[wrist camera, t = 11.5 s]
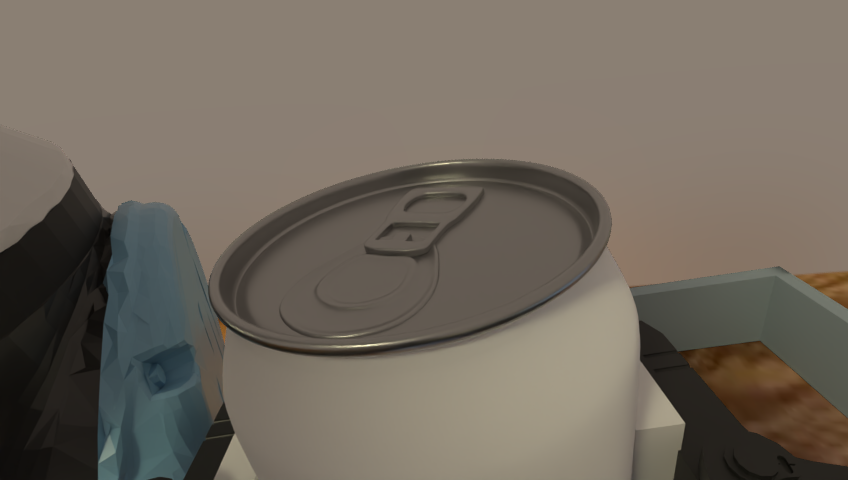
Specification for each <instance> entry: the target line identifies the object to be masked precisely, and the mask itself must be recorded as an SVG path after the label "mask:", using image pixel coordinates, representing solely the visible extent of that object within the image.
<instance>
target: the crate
mask: <svg viewBox="0 0 848 480" xmlns="http://www.w3.org/2000/svg"><path fill="white" fill-rule="evenodd" d="M630 291H631V293H632V296H633V299H634V302H635V305H636V308H637V313H638V320H639V321H643V322H645V323H646V324H648V325H650V326H651V327H653V328H655V329H656V330H658V331H660V332H661V333H663V334H664V336H665V337H666V338H667V339H668V340H669V341H670V343H671V344H672V345H673V346H674V347H675V348H676V350H677V351H685V350H692V349H700V348H707V347H715V346H722V345H730V344H737V343H745V342H753V341H761V342H762V343H763V344H764V345H766V346H767V347H768V348H769V349H770V350H771V351H772V352H773V353H775V354H776V355H777V356H778V357H779V358H780V359H781V360H783V361H784V362H785V363H786V364H787V365H788V366H789V367H790V368H792V369H793V370H794V371H795V372H796V373H797V374H798V375H800V376H801V377H802V378H803V379H804V380H805V381H806V382H807V383H809V384H810V385H811V386H812V387H813V388H814V389H815V390H817V391H818V392H819V393H820V394H821V395H822V396H823V397H824V398H826V399H827V400H828V401H829V402H830V403H831V404H832V405H834V406H835V407H836V408H837V409H838V410H839V411H840V412H841V413H843V414H844V415H845V416H846V417H847V418H848V309H846V308H845V307H843V306H842V305H840V304H838V303H837V302H835V301H834V300H832V299H830V298H829V297H827V296H826V295H824V294H822V293H821V292H819V291H818V290H816V289H815V288H813V287H811V286H810V285H808V284H807V283H805V282H803V281H802V280H800V279H799V278H797V277H795V276H794V275H792V274H791V273H789V272H787V271H786V270H784V269H783V268H781V267H772V268H765V269H758V270H751V271H745V272H738V273H731V274H725V275H717V276H710V277H703V278H697V279H689V280H682V281H676V282H669V283H662V284H655V285H648V286H641V287H634V288H630Z"/></svg>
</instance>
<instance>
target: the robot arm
mask: <svg viewBox="0 0 848 480" xmlns="http://www.w3.org/2000/svg"><path fill="white" fill-rule="evenodd" d="M639 332H640V365H639V385H638V398H637V412H636V425H635V438H634V450H633V462H632V474H631V480H848V467H847V466H840V465H833V464H826V463H820V462H813V461H809V460H804V459H800V458H796V457H794V456H793V455H792V454H790V453H789V452H788V451H786V450H785V449H784V448H783V447H781V446H780V445H779V444H777V443H776V442H774V441H771V440H769V439H767V438H765V437H763V436H761V435H759V434H757V433H753V432H749V431H747V430H746V429H745V428H744V427H743V426H742V425H741V424H740V423H739V421H738V420H737V419H736V418H735V417H734V416H733V415H732V413H731V412H730V411H729V410H728V409H727V408H726V406H725V405H724V404H723V403H722V402H721V401H720V399H719V398H718V397H717V396H716V395H715V394H714V392H713V391H712V390H711V389H710V388H709V387H708V386H707V384H706V383H705V382H704V381H703V380H702V379H701V377H700V376H699V375H698V374H697V373H696V372H695V370H694V369H693V368H690V366H689V363H688V362H687V361H686V360H685V359H684V358H683V357H682V355H681V354H680V353H679V354H678V353H677V350H676V348H675V347H674V346H673V345H672V344H671V343H670V341H669V340H668V339H667V338H666V337H665V336H664V334H663V333H661V332H660V331H658V330H656V329H655V328H653V327H651V326H650V325H648V324H646V323H645V322H643V321H639ZM224 347H225V345H224V341H223V337H222V333H221V329H220V326H219V322H218V318H217V315H216V314H215V312H214V311H213V309H212V306H211V304H210V300H209V295H208V284H207V281H206V278H205V275H204V272H203V269H202V266H201V263H200V260H199V257H198V255H197V252H196V249H195V247H194V244H193V242H192V239H191V237H190V235H189V233H188V231H187V229H186V228H185V226H184V225H183V224H182V223H181V221H180V218H179V215H178V214H177V213H176V211H175V210H174V209H173V208H172V207H170V206H169V205H166V204H164V203H157V202H154V203H147V204H142V203H140V202H136V201H128V202H125V203H122V205H120V206H118V211H116V212H114V213H113V214H110V213H109V212H107V211H106V210H104V208H102V206H101V205H100V204H99V202H98V201H97V200H96V199H95V198H94V196H93V195H92V193H91V192H90V190H89V189H88V187H87V186H86V184H85V183H84V181H83V180H82V178H81V177H80V175H79V174H78V172H77V171H76V169H75V168H74V166H73V164H72V162H71V160H69V159H68V157H67V156H66V155H65V153H64V152H63V150H62V149H61V147H59V146H58V145H56V144H54V143H52V142H51V141H48V140H45V139H42V138H39V137H35V136H32V135H30V134H27V133H23V132H21V131H17V130H14V129H11V128H8V127H5V126H2V125H0V480H259V479H258V478H257V476H256V474H255V472H254V470H253V468H252V466H251V464H250V462H249V461H248V459H247V457H246V455H245V453H244V451H243V449H242V447H241V445H240V443H239V441H238V438H237V436H236V434H235V432H234V429H233V426H232V424H231V421H230V418H229V415H228V413H227V410H226V406H225V401H224V395H223V378H222V373H223V357H224Z"/></svg>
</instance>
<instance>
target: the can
mask: <svg viewBox="0 0 848 480" xmlns="http://www.w3.org/2000/svg"><path fill="white" fill-rule="evenodd" d="M611 220H612V219H611V213H610V209H609V206H608V204H607V202H606V200H605V199H604V197H603V196H602V195H601V193H600V192H599V191H598V190H597V189H596V188H594V187H593V186H592V185H591V184H589V183H588V182H586V181H585V180H583V179H581V178H580V177H578V176H575V175H574V174H571V173H569V172H566V171H564V170H560V169H558V168H554V167H551V166H547V165H542V164H537V163H531V162H525V161H516V160H504V159H461V160H448V161H437V162H429V163H422V164H416V165H410V166H404V167H399V168H394V169H389V170H385V171H380V172H376V173H372V174H368V175H365V176H361V177H358V178H354V179H351V180H347V181H344V182H341V183H338V184H335V185H333V186H330V187H327V188H324V189H322V190H319V191H317V192H314V193H312V194H310V195H307V196H305V197H302V198H300V199H298V200H296V201H294V202H292V203H290V204H288V205H286V206H284V207H282V208H280V209H278V210H276V211H275V212H273V213H271V214H270V215H268V216H266V217H265V218H263V219H261V220H260V221H258V222H257V223H256V224H254V225H253V226H251V227H250V228H249V229H247V230H246V231H245V232H244V233H242V234H241V235H240V236H239V237H238V238H237V239H235V241H233V242H232V243H231V244H230V245H229V247H228V248H227V249H226V250H225V251H224V252H223V254H222V255H221V256H220V258H219V259H218V261H217V262H216V264H215V266H214V268H213V270H212V273H211V275H210V279H209V285H208V295H209V300H210V304H211V306H212V309H213V311H214V312H215V314H216V315H217V317H218V318H219V319H220V321H221V322H222V323H223V324H224V325H225V326H226V327H227V330H226V339H225V347H224V357H223V373H222V378H223V395H224V401H225V406H226V410H227V413H228V415H229V418H230V421H231V424H232V426H233V429H234V432H235V434H236V436H237V438H238V441H239V443H240V445H241V447H242V449H243V451H244V453H245V455H246V457H247V459H248V461H249V462H250V464H251V466H252V468H253V470H254V472H255V474H256V476H257V478H258V479H259V480H631V474H632V462H633V450H634V438H635V425H636V412H637V398H638V385H639V365H640V332H639V320H638V313H637V308H636V305H635V302H634V299H633V296H632V293H631V291H630V288H629V286H628V284H627V282H626V280H625V278H624V276H623V274H622V272H621V270H620V268H619V267H618V265H617V263H616V261H615V259H614V258H613V256H612V254H611V253H610V251H609V249H608V247H607V246H606V245H607V243H608V240H609V237H610V232H611V226H612V221H611Z"/></svg>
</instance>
